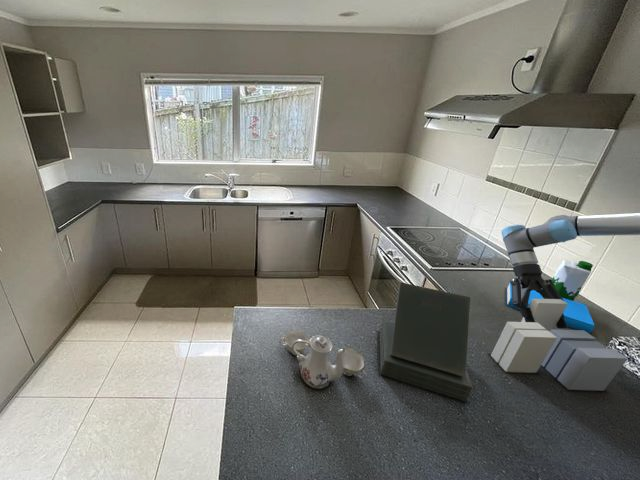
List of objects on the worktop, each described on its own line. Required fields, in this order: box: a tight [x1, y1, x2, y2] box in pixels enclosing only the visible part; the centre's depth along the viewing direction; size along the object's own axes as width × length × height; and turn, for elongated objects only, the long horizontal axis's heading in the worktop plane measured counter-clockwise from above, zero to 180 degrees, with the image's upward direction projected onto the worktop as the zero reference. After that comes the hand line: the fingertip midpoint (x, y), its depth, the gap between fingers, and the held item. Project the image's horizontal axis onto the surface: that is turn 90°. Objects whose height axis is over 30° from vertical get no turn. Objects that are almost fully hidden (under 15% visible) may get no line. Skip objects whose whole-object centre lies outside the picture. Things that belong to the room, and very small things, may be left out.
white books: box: [490, 321, 557, 374], centre depth 91 cm, size 6×10×15 cm, turn 90°
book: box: [506, 282, 595, 335], centre depth 120 cm, size 17×4×25 cm
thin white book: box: [520, 299, 568, 332], centre depth 99 cm, size 2×10×15 cm, turn 90°
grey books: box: [541, 328, 629, 392], centre depth 88 cm, size 12×11×14 cm
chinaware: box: [279, 329, 367, 390], centre depth 86 cm, size 28×17×17 cm, turn 70°
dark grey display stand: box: [378, 281, 473, 402], centre depth 88 cm, size 23×20×25 cm
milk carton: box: [551, 259, 594, 301], centre depth 124 cm, size 9×9×20 cm
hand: (547, 327), depth 97 cm, fingers closed on thin white book, 10 cm apart
